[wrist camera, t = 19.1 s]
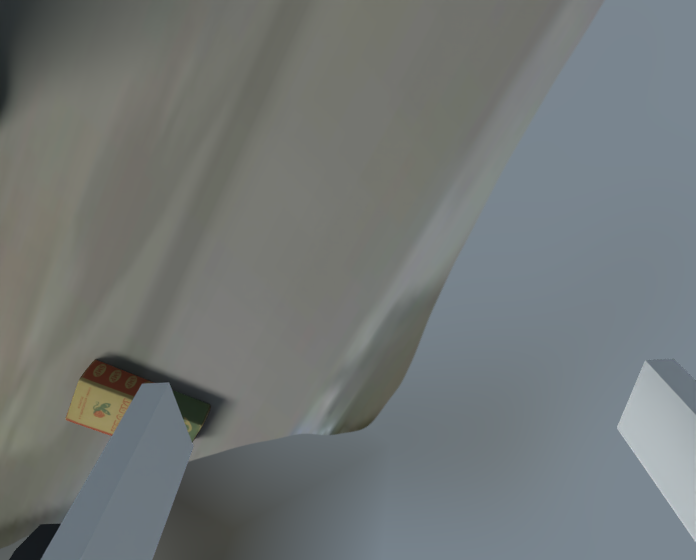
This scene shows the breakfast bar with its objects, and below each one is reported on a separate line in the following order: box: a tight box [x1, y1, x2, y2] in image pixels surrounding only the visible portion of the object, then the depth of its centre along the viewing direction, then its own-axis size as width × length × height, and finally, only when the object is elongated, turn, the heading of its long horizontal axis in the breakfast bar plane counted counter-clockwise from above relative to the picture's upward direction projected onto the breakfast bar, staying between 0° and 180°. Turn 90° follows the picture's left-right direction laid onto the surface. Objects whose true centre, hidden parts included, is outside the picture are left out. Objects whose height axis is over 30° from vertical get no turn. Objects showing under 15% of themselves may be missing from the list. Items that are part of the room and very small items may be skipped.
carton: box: [66, 360, 211, 443], centre depth 55 cm, size 8×16×4 cm, turn 60°
